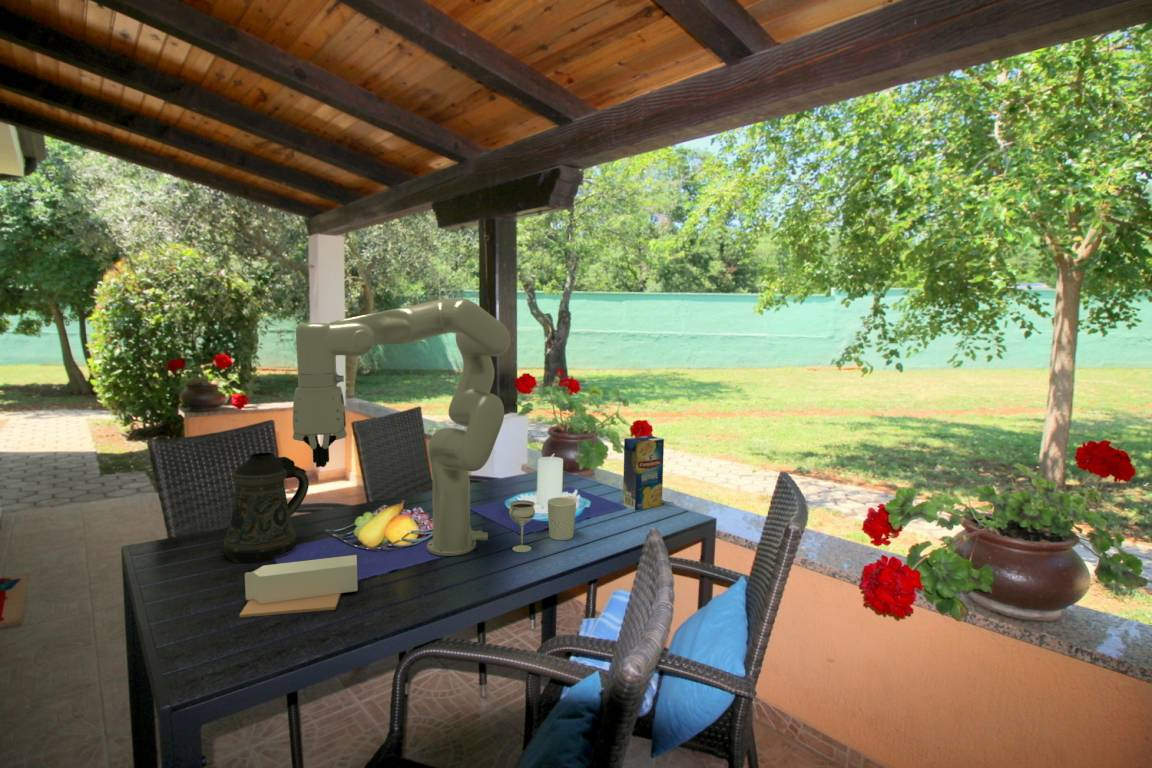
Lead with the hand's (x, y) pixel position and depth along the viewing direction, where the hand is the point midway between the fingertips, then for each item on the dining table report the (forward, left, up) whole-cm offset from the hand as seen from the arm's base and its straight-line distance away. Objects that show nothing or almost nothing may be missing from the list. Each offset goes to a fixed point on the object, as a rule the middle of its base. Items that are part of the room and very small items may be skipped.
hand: (321, 465), depth 130 cm
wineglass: (-46, -16, -28) cm, 56 cm away
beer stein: (+19, -28, -28) cm, 44 cm away
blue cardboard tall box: (-89, -46, -28) cm, 104 cm away
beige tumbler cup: (-58, -23, -28) cm, 68 cm away
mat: (+5, 0, -28) cm, 28 cm away
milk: (-7, +1, -24) cm, 25 cm away
